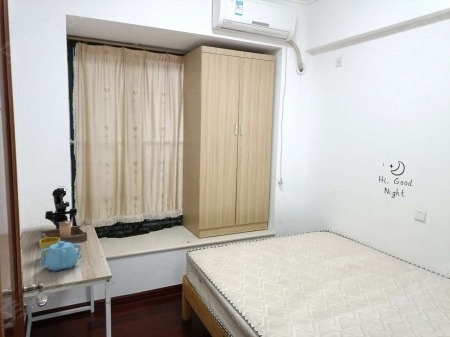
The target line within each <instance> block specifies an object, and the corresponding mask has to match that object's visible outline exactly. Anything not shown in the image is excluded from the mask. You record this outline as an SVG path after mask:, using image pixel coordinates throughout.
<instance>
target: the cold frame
mask: <svg viewBox="0 0 450 337" xmlns="http://www.w3.org/2000/svg"><path fill="white" fill-rule="evenodd" d="M40 235H41V237H40V238H41V239H44V238H48V237H58V238H60V228H59V229H56V228H53V229H46V230H41V231H40ZM41 239H40V240H41ZM87 240H88V233H87V231H86V230H85V229H84V228H82V226H81V225H75V226H73V225H72V226H71V236H69V237H63V238H60V241H64V242H70V243H72V242H77V243H78V242H84V241H87Z"/></svg>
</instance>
